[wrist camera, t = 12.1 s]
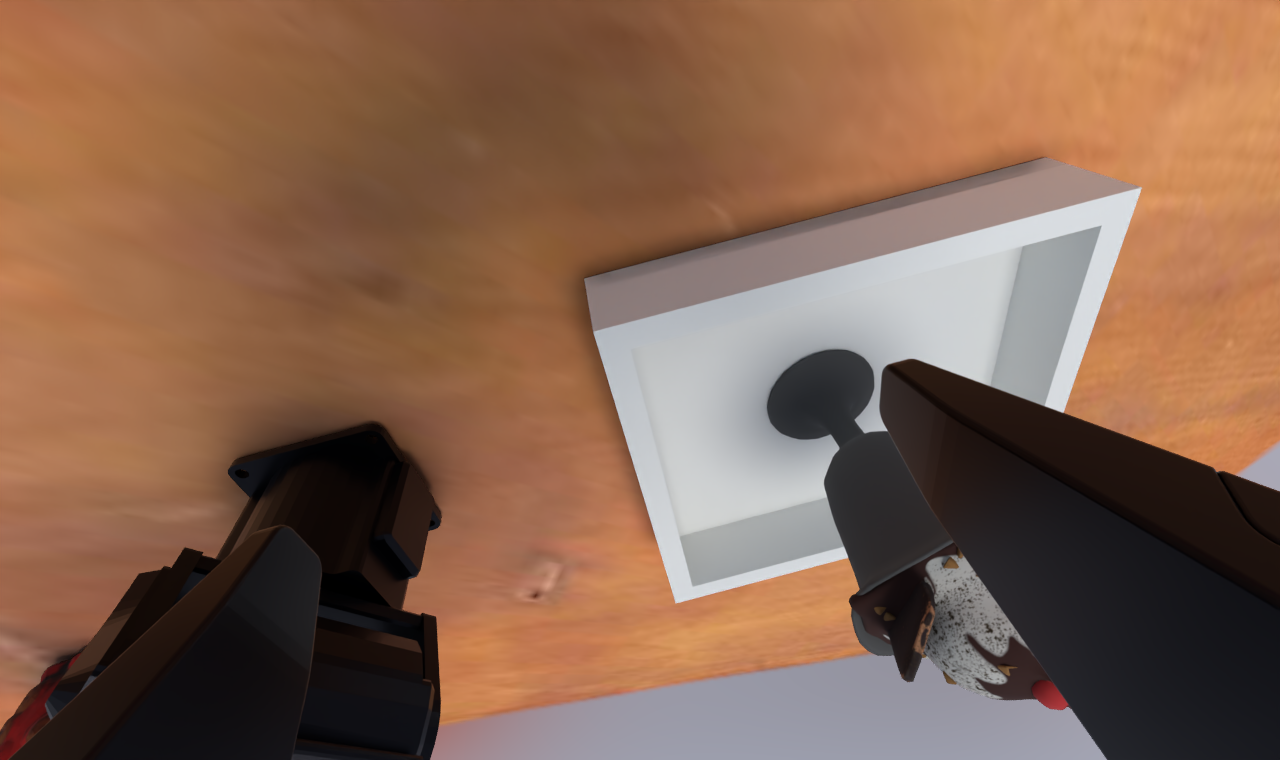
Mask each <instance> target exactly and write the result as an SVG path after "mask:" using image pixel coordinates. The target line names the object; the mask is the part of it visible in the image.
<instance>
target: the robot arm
mask: <svg viewBox="0 0 1280 760" xmlns="http://www.w3.org/2000/svg"><path fill="white" fill-rule="evenodd" d="M879 411H880V416H881V419H882V421H883V423H884V425H885V427H886V429H887V431H888V433H889V434H890V436H891V438H892V440H893V442H894V444H895V445H896V447H897V449H898V451H899V453H900V455H901V456H902V458H903V460H904V462H905V464H906V466H907V467H908V469H909V471H910V473H911V475H912V477H913V478H914V480H915V482H916V484H917V486H918V487H919V489H920V491H921V493H922V495H923V496H924V498H925V500H926V502H927V503H928V505H929V507H930V508H931V510H932V511H933V513H934V514H935V516H936V517H937V519H938V520H939V522H940V523H941V525H942V526H943V527H944V529H945V530H946V532H947V533H948V535H949V536H950V537H951V539H952V540H953V542H954V543H955V544H956V546H957V547H958V549H959V550H960V552H961V553H962V554H963V556H964V557H965V559H966V560H967V562H968V563H969V564H970V566H971V567H972V569H973V570H974V571H975V573H976V574H977V576H978V577H979V579H980V580H981V581H982V583H983V584H984V586H985V587H986V588H987V590H988V591H989V593H990V594H991V596H992V597H993V598H994V600H995V601H996V603H997V604H998V605H999V607H1000V608H1001V610H1002V611H1003V613H1004V614H1005V615H1006V617H1007V618H1008V620H1009V621H1010V623H1011V624H1012V625H1013V627H1014V628H1015V630H1016V631H1017V632H1018V634H1019V635H1020V637H1021V638H1022V640H1023V641H1024V642H1025V644H1026V645H1027V647H1028V648H1029V649H1030V651H1031V652H1032V654H1033V655H1034V657H1035V658H1036V659H1037V661H1038V662H1039V664H1040V665H1041V667H1042V668H1043V669H1044V671H1045V672H1046V674H1047V675H1048V676H1049V678H1050V679H1051V681H1052V682H1053V684H1054V685H1055V686H1056V688H1057V689H1058V691H1059V692H1060V693H1061V695H1062V696H1063V698H1064V699H1065V701H1066V702H1067V703H1068V705H1069V706H1070V708H1071V709H1072V710H1073V712H1074V713H1075V715H1076V716H1077V718H1078V719H1079V720H1080V722H1081V723H1082V724H1083V726H1084V727H1085V729H1086V730H1087V732H1088V733H1089V735H1090V736H1091V737H1092V739H1093V740H1094V741H1095V743H1096V745H1097V746H1098V747H1099V749H1100V750H1101V752H1102V753H1103V754H1104V756H1105V757H1106V759H1107V760H1280V491H1277V490H1274V489H1271V488H1269V487H1266V486H1263V485H1260V484H1257V483H1255V482H1252V481H1249V480H1247V479H1244V478H1241V477H1238V476H1236V475H1233V474H1230V473H1228V472H1225V471H1219V472H1216V470H1215V469H1214V468H1213V467H1211V466H1208V465H1205V464H1202V463H1200V462H1197V461H1194V460H1191V459H1189V458H1186V457H1183V456H1180V455H1178V454H1175V453H1172V452H1169V451H1167V450H1164V449H1161V448H1158V447H1156V446H1153V445H1150V444H1147V443H1145V442H1142V441H1139V440H1136V439H1134V438H1131V437H1128V436H1126V435H1123V434H1120V433H1117V432H1115V431H1112V430H1109V429H1106V428H1104V427H1101V426H1098V425H1095V424H1093V423H1090V422H1087V421H1084V420H1082V419H1079V418H1076V417H1073V416H1071V415H1068V414H1065V413H1062V412H1060V411H1057V410H1054V409H1051V408H1049V407H1046V406H1043V405H1041V404H1038V403H1035V402H1032V401H1030V400H1027V399H1024V398H1021V397H1019V396H1016V395H1013V394H1010V393H1008V392H1005V391H1002V390H999V389H997V388H994V387H991V386H988V385H986V384H983V383H980V382H977V381H975V380H972V379H969V378H966V377H964V376H961V375H958V374H955V373H953V372H950V371H947V370H945V369H942V368H939V367H936V366H934V365H931V364H928V363H925V362H923V361H920V360H917V359H906V360H902V361H898V362H894V363H891V364H888V365H886V366H885V367H884V368H883V371H882V376H881V388H880V401H879ZM369 435H374V436H376V437H377V438H372V437H370V436H369ZM241 469H242V470H241ZM243 470H246V471H243ZM228 474H229V476H230V477H231V478H232V479H233V480H234V481H235V482H236V483H237V485H238V486H239V487H240V488H241V489H242V490H243V491H244V492H245V493H246V494H247V495H248V496H249V497H250V499H249V501H248V503H247V505H246V506H245V508H244V510H243V512H242V513H241V515H240V517H239V519H238V520H237V522H236V524H235V526H234V527H233V529H232V531H231V533H230V534H229V536H228V538H227V540H226V541H225V543H224V545H223V547H222V549H221V550H220V552H219V554H218V556H217V557H216V559H214V558H211V557H207V556H203V555H202V554H203V552H200V551H197V550H193V549H189V548H186V547H185V548H184V549H183V551H182V552H181V554H180V556H179V557H178V559H177V560H176V562H175V563H174V565H173V566H172V568H170V567H167V566H163V568H162V569H161V570H158V571H152V572H146V573H140V574H139V575H138V576H137V577H136V579H135V580H134V582H133V583H132V585H131V586H130V588H129V589H128V591H127V592H126V593H125V595H124V596H123V598H122V599H121V601H120V602H119V604H118V605H117V607H116V608H115V609H114V611H113V612H112V614H111V615H110V616H109V618H108V619H107V621H106V622H105V623H104V625H103V626H102V627H101V629H100V630H99V631H98V633H97V634H96V635H95V636H94V638H93V639H92V640H91V642H90V643H89V644H88V645H87V647H86V648H85V649H84V651H83V652H82V653H81V654H80V656H79V657H78V658H77V659H76V661H75V662H74V663H73V665H72V666H71V667H70V668H69V670H68V671H67V672H66V674H65V675H64V676H63V677H62V679H61V680H60V682H59V683H58V684H57V686H56V687H55V689H54V690H53V692H52V693H51V695H50V696H49V698H48V699H47V701H46V703H45V707H46V710H47V712H48V715H49V718H50V721H49V722H48V723H47V724H46V725H45V726H44V727H42V728H41V729H40V730H39V731H38V732H37V733H36V734H35V735H34V736H33V737H32V738H31V739H29V740H28V741H27V742H26V743H25V744H24V745H23V746H22V747H21V748H20V749H19V750H18V751H16V752H15V753H14V754H13V755H12V756H11V757H10V758H9V759H8V760H430V758H431V754H432V751H433V748H434V745H435V740H436V736H437V732H438V727H439V720H440V708H441V698H440V679H439V660H438V642H437V623H436V617H435V616H432V615H428V614H424V613H422V614H421V615H419V614H415V613H411V612H408V611H404V610H402V608H403V604H404V599H405V594H406V590H407V585H408V581H409V579H411V578H415V577H417V575H418V574H419V572H420V570H421V565H422V560H423V555H424V550H425V545H426V540H427V535H428V531H430V530H434V529H436V528H438V527H439V526H440V523H441V518H442V516H441V513H440V512H439V510H438V509H437V507H436V506H435V504H434V498H433V496H432V495H431V493H430V492H429V490H428V489H427V487H426V486H425V484H424V483H423V481H422V480H421V478H420V477H419V475H418V473H417V472H416V470H415V469H414V467H413V466H412V464H410V463H409V462H407V461H406V460H405V459H404V457H403V456H402V454H401V453H400V451H399V450H398V448H397V447H396V445H395V444H394V442H393V441H392V439H391V438H390V436H389V435H388V433H387V432H386V430H385V429H384V428H383V427H381V426H379V425H375V424H369V425H365V426H361V427H357V428H353V429H349V430H346V431H342V432H338V433H334V434H330V435H327V436H323V437H319V438H315V439H311V440H308V441H304V442H300V443H296V444H293V445H289V446H285V447H281V448H277V449H274V450H270V451H266V452H262V453H258V454H255V455H251V456H247V457H243V458H239V459H237V460H235V461H234V462H233V463H232V465H231V466H230V468H229V469H228Z"/></svg>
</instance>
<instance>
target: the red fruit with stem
mask: <svg viewBox="0 0 1280 760" xmlns="http://www.w3.org/2000/svg"><path fill="white" fill-rule="evenodd" d="M82 652H83V651H82ZM82 652H80V653H79V654H77V655H76V656H74V657H73V658H72V659H70V660H68V661H62V662H60V663H57V664H55V665H52V666H50V667H49V668H47V670H46V671H45V672H44V674H43V675H42V676H41V683H40V684H39V685H37V686H36V687H34V688H33V689H32V690H31V691H30V692H29V693H28V694H27V695H26V697H25V698H24V700H23V701H22V703H21V704H20V706H19V707H18V709H17V710H16V712H15V714H14V715H13V716H12V717H11V718H10V719H8V720H7V721H6V723H5V724H4V726H3V727H2V729H1V730H0V760H8V759H9V758H10V757H11V756H12V755H13V754H14V753H15V752H16V751H18V750H19V749H20V748H21V747H22V746H23V745H24V744H25V743H26V742H27V741H28V740H29V739H31V738H32V737H33V736H34V735H35V734H36V733H37V732H38V731H39V730H40V729H41V728H42V727H44V726H45V725H46V724H47V723H48V722H49V721H50V718H49V715H48V712H47V710H46V707H45V703H46V701H47V699H48V698H49V696H50V695H51V693H52V692H53V690H54V689H55V687H56V686H57V684H58V683H59V682H60V680H61V679H62V677H63V676H64V675H65V674H66V672H67V671H68V670H69V668H70V667H71V666H72V665H73V663H74V662H75V661H76V659H77V658H78V657H79V656H80V654H81V653H82Z"/></svg>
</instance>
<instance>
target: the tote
mask: <svg viewBox="0 0 1280 760" xmlns="http://www.w3.org/2000/svg"><path fill="white" fill-rule="evenodd" d="M1141 188H1142V187H1139V186H1136V185H1133V184H1130V183H1126V182H1123V181H1120V180H1117V179H1114V178H1111V177H1107V176H1104V175H1101V174H1098V173H1095V172H1092V171H1088V170H1085V169H1082V168H1079V167H1076V166H1073V165H1069V164H1066V163H1063V162H1060V161H1057V160H1054V159H1050V158H1047V157H1045V158H1041V159H1037V160H1034V161H1030V162H1026V163H1022V164H1018V165H1014V166H1011V167H1007V168H1003V169H999V170H995V171H992V172H988V173H984V174H980V175H976V176H973V177H969V178H965V179H961V180H957V181H954V182H950V183H946V184H942V185H938V186H934V187H931V188H927V189H923V190H919V191H915V192H912V193H908V194H904V195H900V196H896V197H893V198H889V199H885V200H881V201H877V202H873V203H870V204H866V205H862V206H858V207H854V208H851V209H847V210H843V211H839V212H835V213H832V214H828V215H824V216H820V217H816V218H813V219H809V220H805V221H801V222H797V223H793V224H790V225H786V226H782V227H778V228H774V229H771V230H767V231H763V232H759V233H755V234H752V235H748V236H744V237H740V238H736V239H733V240H729V241H725V242H721V243H717V244H713V245H710V246H706V247H702V248H698V249H694V250H691V251H687V252H683V253H679V254H675V255H672V256H668V257H664V258H660V259H656V260H652V261H649V262H645V263H641V264H637V265H633V266H630V267H626V268H622V269H618V270H614V271H611V272H607V273H603V274H599V275H595V276H592V277H588V278H584V281H585V287H586V292H587V298H588V304H589V310H590V316H591V322H592V328H593V333H594V336H595V339H596V343H597V346H598V349H599V352H600V356H601V359H602V362H603V366H604V369H605V372H606V375H607V379H608V382H609V385H610V389H611V392H612V395H613V398H614V402H615V405H616V408H617V412H618V415H619V418H620V421H621V425H622V428H623V431H624V435H625V438H626V441H627V444H628V448H629V451H630V454H631V457H632V461H633V464H634V467H635V471H636V474H637V477H638V480H639V484H640V487H641V490H642V494H643V497H644V500H645V503H646V507H647V510H648V513H649V517H650V520H651V523H652V526H653V530H654V533H655V536H656V540H657V543H658V546H659V549H660V553H661V556H662V559H663V563H664V566H665V569H666V572H667V576H668V579H669V582H670V585H671V589H672V592H673V595H674V599H675V602H676V603H679V602H683V601H687V600H691V599H694V598H698V597H702V596H706V595H709V594H713V593H717V592H721V591H724V590H728V589H732V588H736V587H739V586H743V585H747V584H751V583H755V582H758V581H762V580H766V579H770V578H773V577H777V576H781V575H785V574H788V573H792V572H796V571H800V570H803V569H807V568H811V567H815V566H819V565H822V564H826V563H830V562H834V561H837V560H841V559H845V558H848V555H847V553H846V550H845V548H844V545H843V543H842V540H841V538H840V535H839V533H838V530H837V528H836V525H835V522H834V519H833V516H832V513H831V509H830V506H829V502H828V499H827V495H826V491H825V488H824V478H825V476H826V473H827V470H828V468H829V465H830V463H831V460H832V458H833V456H834V455H835V453H836V452H837V451H838V450H839V446H838V445H837V443H836V442H835V440H834V438H833V437H832V436H831V434H830V435H828V436H825V437H822V438H819V439H810V440H799V439H795V438H791V437H789V436H786V435H783V434H781V433H780V432H779V431H778V430H777V429H775V427H774V426H773V425H772V424H771V422H770V419H769V416H768V411H767V405H768V399H769V396H770V393H771V390H772V388H773V387H774V385H775V384H776V382H777V381H778V380H779V378H780V377H781V376H782V375H783V373H784V372H785V371H787V370H788V369H789V368H790V367H792V366H793V365H794V364H796V363H797V362H799V361H800V360H802V359H803V358H806V357H808V356H811V355H813V354H816V353H819V352H822V351H827V350H848V351H851V352H854V353H856V354H858V355H860V356H862V357H864V358H865V359H866V361H867V362H868V363H869V364H870V366H871V368H872V369H873V373H874V391H873V394H872V397H871V399H870V401H869V403H868V405H867V407H866V408H865V409H864V410H863V412H862V413H861V414H860V415H859V416H858V417H857V418H856V419H855V422H856V423H857V424H858V426H859V427H860V428H861V429H862V431H863V432H864V433H868V432H873V431H887V429H886V427H885V425H884V423H883V421H882V419H881V416H880V411H879V401H880V388H881V376H882V371H883V368H884V367H885V366H886V365H888V364H891V363H894V362H898V361H902V360H906V359H917V360H920V361H923V362H925V363H928V364H931V365H934V366H936V367H939V368H942V369H945V370H947V371H950V372H953V373H955V374H958V375H961V376H964V377H966V378H969V379H972V380H975V381H977V382H980V383H983V384H986V385H988V386H991V387H994V388H997V389H999V390H1002V391H1005V392H1008V393H1010V394H1013V395H1016V396H1019V397H1021V398H1024V399H1027V400H1030V401H1032V402H1035V403H1038V404H1041V405H1043V406H1046V407H1049V408H1051V409H1054V410H1057V411H1060V412H1062V413H1063V412H1064V409H1065V406H1066V403H1067V401H1068V398H1069V395H1070V392H1071V389H1072V386H1073V383H1074V380H1075V378H1076V375H1077V372H1078V369H1079V366H1080V363H1081V360H1082V358H1083V355H1084V352H1085V349H1086V346H1087V343H1088V340H1089V337H1090V335H1091V332H1092V329H1093V326H1094V323H1095V320H1096V317H1097V315H1098V312H1099V309H1100V306H1101V303H1102V300H1103V297H1104V294H1105V292H1106V289H1107V286H1108V283H1109V280H1110V277H1111V274H1112V272H1113V269H1114V266H1115V263H1116V260H1117V257H1118V254H1119V252H1120V249H1121V246H1122V243H1123V240H1124V237H1125V234H1126V231H1127V229H1128V226H1129V223H1130V220H1131V217H1132V214H1133V211H1134V209H1135V206H1136V203H1137V200H1138V197H1139V194H1140V191H1141Z"/></svg>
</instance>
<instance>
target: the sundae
mask: <svg viewBox="0 0 1280 760" xmlns="http://www.w3.org/2000/svg"><path fill="white" fill-rule="evenodd" d="M873 391H874V373H873V369H872V368H871V366H870V364H869V363H868V362H867V361H866V359H865V358H864V357H862V356H860V355H858V354H856V353H854V352H851V351H848V350H827V351H822V352H819V353H816V354H813V355H811V356H808V357H806V358H803V359H802V360H800V361H799V362H797V363H796V364H794V365H793V366H792V367H790V368H789V369H788V370H787V371H785V372H784V373H783V375H782V376H781V377H780V378H779V380H778V381H777V382H776V384H775V385H774V387H773V388H772V390H771V393H770V396H769V399H768V405H767V411H768V416H769V419H770V422H771V424H772V425H773V426H774V427H775V429H777V430H778V431H779V432H780V433H781V434H783V435H786V436H789V437H791V438H795V439H799V440H810V439H819V438H822V437H825V436H828V435H830V434H831V436H832V437H833V438H834V440H835V442H836V443H837V445H838V446H839V450H838V451H837V452H836V453H835V455H834V456H833V458H832V460H831V463H830V465H829V468H828V470H827V473H826V476H825V478H824V488H825V491H826V495H827V499H828V502H829V506H830V509H831V513H832V516H833V519H834V522H835V525H836V528H837V530H838V533H839V535H840V538H841V540H842V543H843V545H844V548H845V550H846V553H847V555H848V558H849V560H850V563H851V565H852V568H853V571H854V573H855V576H856V579H857V582H858V585H859V588H860V590H859V591H858V592H857V593H856V594H854V595H852V596H851V597H850V599H849V603H850V605H851V607H852V612H851V617H852V622H853V626H854V630H855V633H856V635H857V638H858V640H859V642H860V644H861V645H862V646H863V647H864V648H866V649H867V650H868V651H869V652H871V653H873V654H875V655H878V656H892V655H894V656H895V659H896V662H897V666H898V668H899V671H900V674H901V677H902V678H903V679H904V680H905V681H907V682H912V681H913V680H914V678H915V675H916V672H917V670H918V668H919V665H920V662H921V659H922V658H927V659H930V660H931V661H932V662H933V663H934V664H935V665H936V666H937V667H938V668H939V669H940V670H941V671H942V672H943V674H944V676H945V679H946V682H947V683H949V684H958V685H959V686H960V687H962V688H963V689H966V690H969V691H972V692H974V693H977V694H980V695H982V696H985V697H988V698H992V699H999V700H1023V699H1037V700H1038V701H1039V702H1041V703H1042V704H1043V705H1044V706H1046V707H1048V708H1049V709H1057V710H1063V709H1065V708H1066V707H1069V708H1070V706H1069V705H1068V703H1067V702H1066V701H1065V699H1064V698H1063V696H1062V695H1061V693H1060V692H1059V691H1058V689H1057V688H1056V686H1055V685H1054V684H1053V682H1052V681H1051V679H1050V678H1049V676H1048V675H1047V674H1046V672H1045V671H1044V669H1043V668H1042V667H1041V665H1040V664H1039V662H1038V661H1037V659H1036V658H1035V657H1034V655H1033V654H1032V652H1031V651H1030V649H1029V648H1028V647H1027V645H1026V644H1025V642H1024V641H1023V640H1022V638H1021V637H1020V635H1019V634H1018V632H1017V631H1016V630H1015V628H1014V627H1013V625H1012V624H1011V623H1010V621H1009V620H1008V618H1007V617H1006V615H1005V614H1004V613H1003V611H1002V610H1001V608H1000V607H999V605H998V604H997V603H996V601H995V600H994V598H993V597H992V596H991V594H990V593H989V591H988V590H987V588H986V587H985V586H984V584H983V583H982V581H981V580H980V579H979V577H978V576H977V574H976V573H975V571H974V570H973V569H972V567H971V566H970V564H969V563H968V562H967V560H966V559H965V557H964V556H963V554H962V553H961V552H960V550H959V549H958V547H957V546H956V544H955V543H954V542H953V540H952V539H951V537H950V536H949V535H948V533H947V532H946V530H945V529H944V527H943V526H942V525H941V523H940V522H939V520H938V519H937V517H936V516H935V514H934V513H933V511H932V510H931V508H930V507H929V505H928V503H927V502H926V500H925V498H924V496H923V495H922V493H921V491H920V489H919V487H918V486H917V484H916V482H915V480H914V478H913V477H912V475H911V473H910V471H909V469H908V467H907V466H906V464H905V462H904V460H903V458H902V456H901V455H900V453H899V451H898V449H897V447H896V445H895V444H894V442H893V440H892V438H891V436H890V434H889V433H888V431H873V432H868V433H864V432H863V431H862V429H861V428H860V427H859V426H858V424H857V423H856V422H855V419H856V418H857V417H858V416H859V415H860V414H861V413H862V412H863V410H864V409H865V408H866V407H867V405H868V403H869V401H870V399H871V397H872V394H873Z"/></svg>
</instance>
